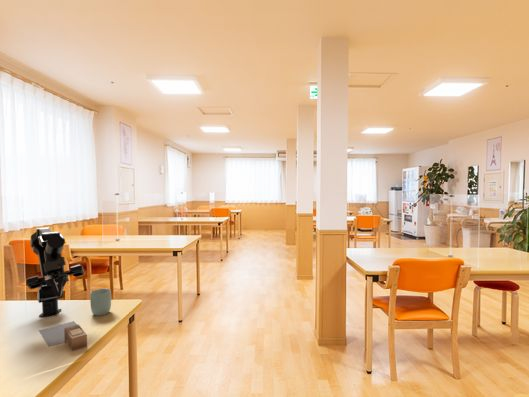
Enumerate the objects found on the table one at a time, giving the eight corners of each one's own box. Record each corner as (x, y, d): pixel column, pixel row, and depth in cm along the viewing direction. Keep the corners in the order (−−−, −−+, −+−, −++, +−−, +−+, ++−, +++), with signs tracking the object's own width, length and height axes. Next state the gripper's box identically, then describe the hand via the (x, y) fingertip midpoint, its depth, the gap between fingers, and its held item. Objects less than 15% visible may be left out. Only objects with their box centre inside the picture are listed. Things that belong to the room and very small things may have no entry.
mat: (38, 331, 126) (38, 330, 126) (73, 322, 134) (73, 321, 134) (48, 347, 113) (48, 346, 113) (87, 336, 121) (87, 335, 121)
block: (64, 327, 117) (71, 338, 110) (78, 323, 120) (86, 333, 113) (64, 340, 117) (72, 351, 110) (78, 336, 120) (87, 347, 113)
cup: (103, 318, 137) (102, 294, 137) (86, 317, 139) (85, 293, 138) (115, 311, 145) (114, 288, 144) (99, 310, 146) (98, 288, 146)
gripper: (19, 259, 122) (23, 299, 115) (76, 245, 130) (83, 282, 123) (28, 270, 130) (32, 307, 124) (81, 256, 139) (87, 291, 132)
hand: (59, 297), depth 126 cm, fingers closed
